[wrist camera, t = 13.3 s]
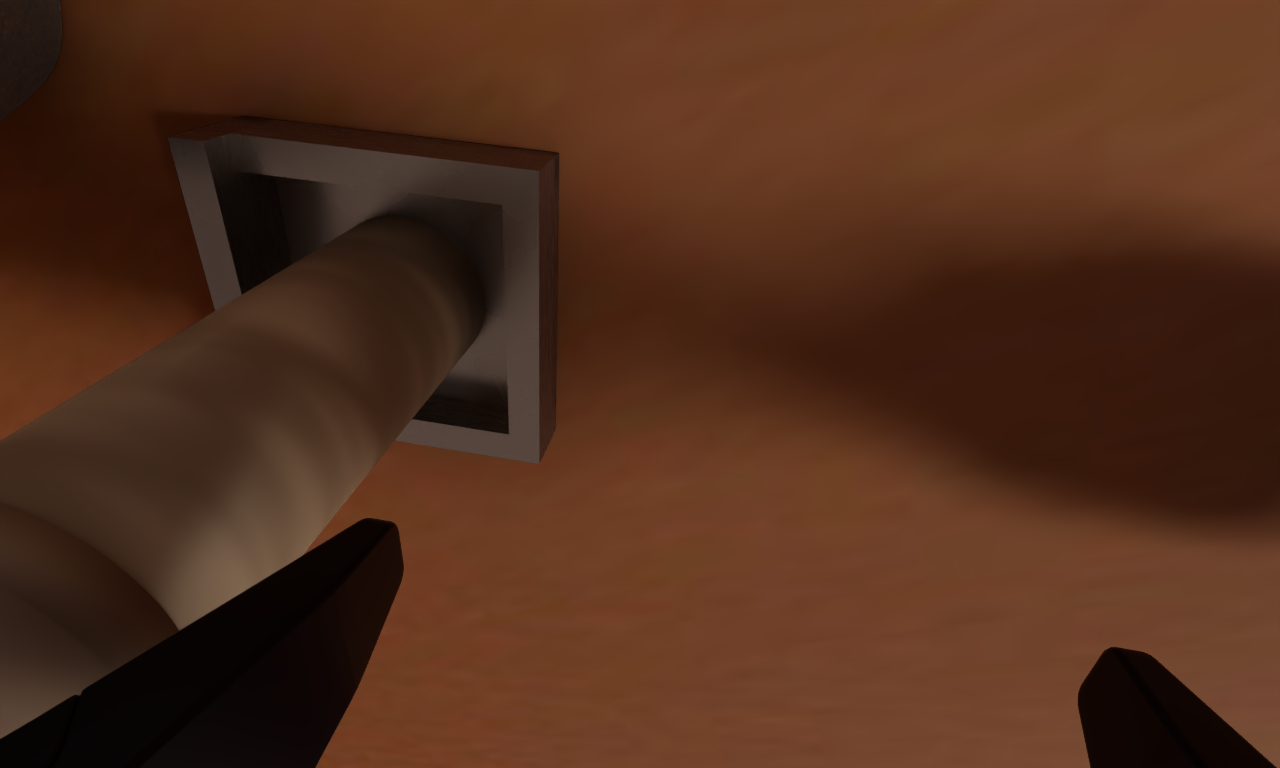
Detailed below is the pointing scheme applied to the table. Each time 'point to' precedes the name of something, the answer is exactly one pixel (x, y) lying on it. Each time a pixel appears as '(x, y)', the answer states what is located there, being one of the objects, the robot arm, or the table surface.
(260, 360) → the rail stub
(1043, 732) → the table surface
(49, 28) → the plant pot
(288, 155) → the grey tray
